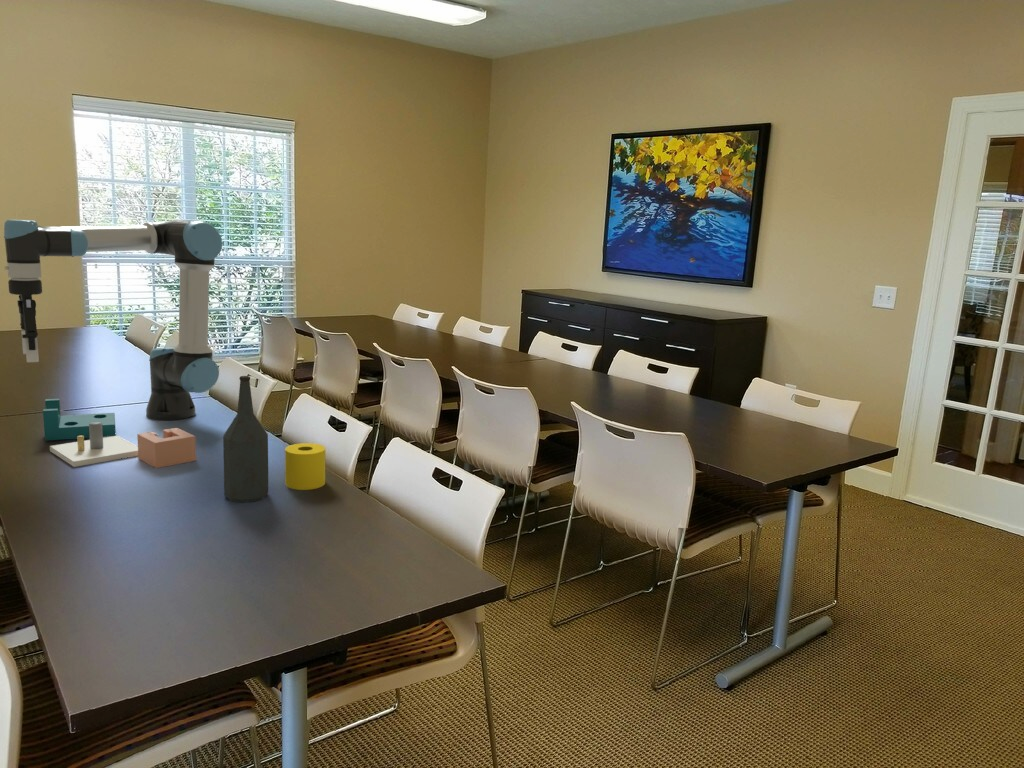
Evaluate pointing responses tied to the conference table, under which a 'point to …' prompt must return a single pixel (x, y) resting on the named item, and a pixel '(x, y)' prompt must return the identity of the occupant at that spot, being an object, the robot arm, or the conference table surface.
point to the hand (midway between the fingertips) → (30, 357)
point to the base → (95, 455)
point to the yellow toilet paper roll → (304, 466)
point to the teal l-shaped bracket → (73, 423)
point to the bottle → (245, 452)
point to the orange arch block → (166, 448)
